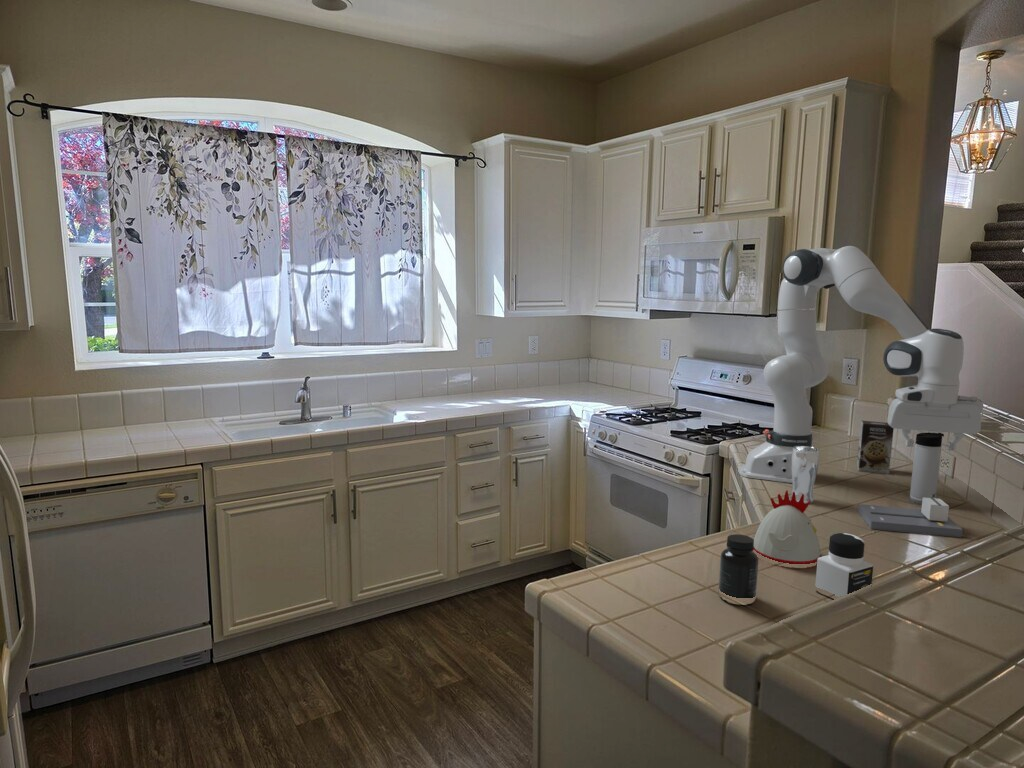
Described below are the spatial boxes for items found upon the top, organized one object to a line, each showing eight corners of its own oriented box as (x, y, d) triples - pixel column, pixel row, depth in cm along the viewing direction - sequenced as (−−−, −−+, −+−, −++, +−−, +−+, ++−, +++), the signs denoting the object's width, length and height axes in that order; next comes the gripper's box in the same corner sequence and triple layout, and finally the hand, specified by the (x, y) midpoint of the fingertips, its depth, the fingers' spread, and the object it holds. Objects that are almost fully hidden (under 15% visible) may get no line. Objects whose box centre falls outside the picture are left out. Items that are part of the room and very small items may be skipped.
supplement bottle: (747, 590, 132) (751, 532, 130) (761, 606, 125) (765, 545, 123) (713, 590, 132) (716, 532, 130) (725, 606, 125) (729, 545, 123)
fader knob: (929, 520, 167) (930, 504, 166) (921, 512, 172) (922, 496, 172) (947, 521, 166) (949, 505, 165) (938, 513, 171) (940, 498, 171)
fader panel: (870, 529, 167) (871, 520, 166) (857, 511, 180) (857, 503, 180) (961, 537, 162) (962, 529, 161) (940, 518, 175) (941, 510, 175)
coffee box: (858, 471, 220) (862, 423, 218) (856, 466, 226) (860, 419, 224) (889, 474, 217) (894, 425, 214) (886, 469, 223) (891, 422, 220)
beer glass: (815, 498, 191) (819, 447, 189) (815, 505, 184) (819, 452, 182) (789, 495, 194) (792, 444, 191) (788, 501, 187) (791, 449, 185)
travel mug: (940, 506, 185) (948, 435, 182) (914, 504, 186) (921, 434, 183) (931, 499, 191) (938, 431, 188) (906, 497, 192) (912, 429, 189)
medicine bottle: (846, 607, 125) (852, 546, 124) (814, 591, 132) (818, 533, 130) (871, 599, 129) (876, 539, 127) (838, 584, 135) (842, 527, 133)
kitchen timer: (814, 574, 140) (819, 505, 138) (746, 559, 147) (750, 493, 145) (823, 552, 152) (828, 488, 149) (760, 539, 159) (764, 478, 157)
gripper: (979, 395, 168) (971, 448, 170) (888, 389, 173) (882, 441, 175) (989, 399, 162) (981, 454, 164) (896, 393, 167) (889, 447, 169)
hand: (929, 448), depth 169 cm, fingers open, 8 cm apart
